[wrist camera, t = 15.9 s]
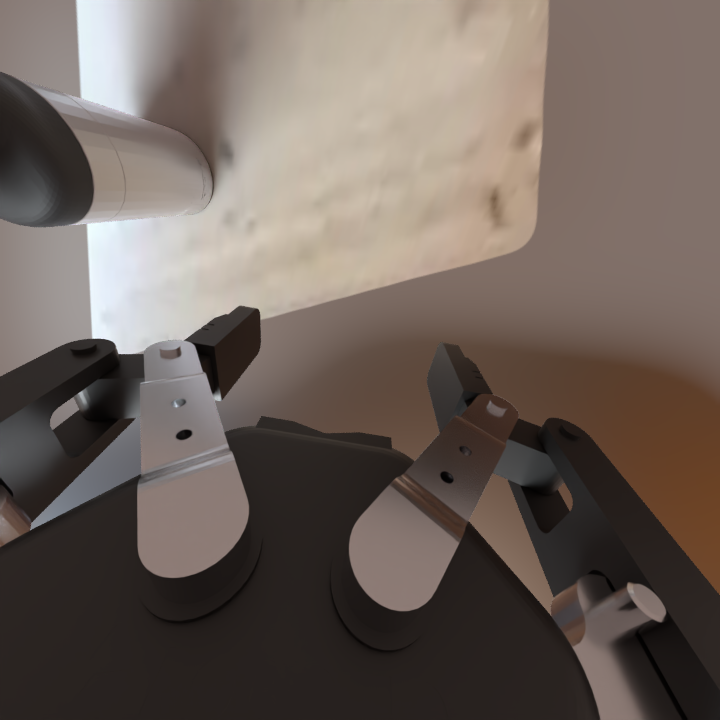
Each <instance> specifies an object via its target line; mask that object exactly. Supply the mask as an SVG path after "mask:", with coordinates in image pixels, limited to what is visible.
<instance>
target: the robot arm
mask: <svg viewBox="0 0 720 720" xmlns="http://www.w3.org/2000/svg"><path fill="white" fill-rule="evenodd" d="M212 190H213V181H212V176H211V171H210V168H209V165H208V163H207V161H206V159H205V157H204V155H203V153H202V152H201V151H200V149H199V148H198V147H197V145H196V144H195V143H194V142H193V141H192V140H191V139H190V138H188V137H187V136H185V135H184V134H183V133H181V132H179V131H176V130H174V129H171V128H168V127H165V126H162V125H159V124H156V123H153V122H151V121H148V120H145V119H142V118H139V117H136V116H133V115H129V114H126V113H123V112H120V111H117V110H114V109H111V108H108V107H105V106H102V105H99V104H96V103H93V102H90V101H87V100H84V99H81V98H78V97H74V96H71V95H69V94H66V93H63V92H59V91H56V90H53V89H50V88H47V87H44V86H41V85H37V84H34V83H31V82H28V81H25V80H22V79H19V78H16V77H13V76H10V75H8V74H5V73H2V72H0V218H1V219H3V220H6V221H9V222H11V223H15V224H18V225H24V226H30V227H54V226H65V225H77V224H89V223H99V222H109V221H121V220H133V219H144V218H156V217H167V216H180V215H191V214H195V213H199V212H200V211H202V210H203V209H204V208H205V207H206V206H207V205H208V203H209V201H210V199H211V195H212ZM260 345H261V330H260V312H259V310H258V309H256V308H251V307H245V306H238V307H237V308H236V309H235V310H233V311H232V312H231V313H229V314H228V315H227V314H225V315H222V316H219V317H216V318H214V319H213V320H211V321H210V322H209V323H207V325H204V326H203V327H202V328H201V329H199V330H198V331H196V332H195V333H194V334H192V335H191V336H189V337H188V338H187V339H185V340H184V341H182V340H168V341H162V342H158V343H155V344H153V345H151V346H149V347H148V348H147V349H146V350H145V351H144V354H118V352H117V349H116V346H115V344H114V343H113V342H112V341H109V340H105V339H84V340H78V341H74V342H70V343H67V344H65V345H62V346H60V347H58V348H56V349H54V350H52V351H50V352H48V353H46V354H44V355H42V356H40V357H38V358H36V359H34V360H32V361H30V362H28V363H26V364H25V365H22V366H20V367H18V368H16V369H14V370H12V371H10V372H8V373H6V374H5V375H3V376H1V377H0V720H720V595H719V594H718V593H717V591H716V590H715V589H714V588H713V587H712V585H711V584H710V583H709V581H708V580H707V579H706V578H705V577H704V576H703V574H702V573H701V572H700V571H699V569H698V568H697V567H696V566H695V565H694V563H693V562H692V561H691V560H690V558H689V557H688V556H687V555H686V553H685V552H684V551H683V550H682V548H681V547H680V546H679V545H678V544H677V542H676V541H675V540H674V539H673V537H672V536H671V535H670V534H669V533H668V531H667V530H666V529H665V528H664V526H662V524H661V523H660V522H659V520H658V519H657V518H656V517H655V515H654V514H653V513H652V512H651V511H650V509H649V508H648V507H647V506H646V505H645V503H644V502H643V501H642V500H641V498H640V497H639V496H638V495H637V493H636V492H635V491H634V490H633V488H632V487H631V486H630V485H629V484H628V482H627V481H626V480H625V479H624V478H623V476H622V475H621V474H620V473H619V472H618V470H617V469H616V468H615V466H614V465H613V464H612V463H611V462H610V460H609V459H608V458H607V457H606V456H605V454H604V453H603V452H602V451H601V449H600V448H599V447H598V446H597V445H596V443H595V442H594V441H593V439H592V438H591V437H590V436H589V435H588V434H587V433H586V432H585V431H583V430H582V429H581V428H579V427H577V426H576V425H574V424H572V423H570V422H568V421H565V420H563V419H559V418H549V419H547V420H546V421H545V423H544V424H543V425H542V427H540V426H537V425H535V424H532V423H529V422H526V421H524V420H521V419H519V413H518V411H517V409H516V408H515V407H514V406H513V405H512V404H511V403H509V402H508V401H506V400H505V399H503V398H501V397H498V396H496V395H493V393H492V392H491V390H490V388H489V386H488V385H487V383H486V381H485V380H484V379H483V376H482V374H481V373H480V371H479V369H478V367H477V366H476V364H474V363H473V362H472V361H471V360H470V359H469V358H466V357H464V355H463V353H462V351H461V349H460V347H459V346H458V345H454V344H448V343H443V342H441V343H440V344H439V345H438V347H437V350H436V353H435V356H434V359H433V362H432V364H431V367H430V370H429V372H428V377H427V385H428V389H429V392H430V397H431V400H432V404H433V408H434V412H435V416H436V420H437V424H438V428H439V432H440V433H439V435H438V436H437V437H436V438H435V439H434V440H433V441H432V443H431V444H430V445H429V446H428V447H427V448H426V449H425V450H424V451H423V453H422V454H421V455H420V456H419V457H418V458H417V459H416V460H415V461H414V460H412V459H411V458H410V457H408V456H407V455H405V454H403V453H401V452H400V451H397V450H395V449H393V448H392V445H391V438H389V437H384V436H378V435H372V434H365V433H330V434H329V433H322V432H320V431H317V430H314V429H312V428H309V427H307V426H304V425H301V424H299V423H296V422H293V421H288V420H282V419H276V418H269V417H264V416H261V418H260V420H259V422H258V424H257V425H256V426H248V427H241V428H237V429H233V430H229V431H226V432H224V430H223V427H222V424H221V420H220V417H219V414H218V411H217V408H216V405H215V401H214V400H218V401H222V400H223V398H224V397H225V396H226V395H227V393H228V392H229V391H230V389H231V388H232V387H233V385H234V384H235V383H236V381H237V380H238V379H239V378H240V376H241V375H242V374H243V373H244V371H245V370H246V369H247V367H248V366H249V365H250V363H251V362H252V361H253V359H254V358H255V357H256V356H257V354H258V352H259V349H260ZM72 397H74V399H75V401H76V403H77V405H78V407H79V411H77V412H76V413H74V414H73V415H72V416H70V417H69V418H68V419H67V420H65V421H64V422H63V423H61V424H60V425H59V426H57V427H56V428H55V429H54V430H52V429H51V427H50V418H51V416H52V414H53V412H54V411H55V410H56V409H57V408H58V407H60V406H61V405H62V404H64V403H65V402H67V401H68V400H70V399H71V398H72ZM138 417H140V419H141V474H140V475H138V476H136V477H134V478H132V479H130V480H128V481H126V482H124V483H122V484H120V485H119V486H116V487H114V488H113V489H111V490H109V491H107V492H105V493H103V494H101V495H99V496H97V497H95V498H93V499H91V500H89V501H87V502H85V503H83V504H81V505H79V506H77V507H75V508H73V509H71V510H69V511H67V512H66V513H64V514H62V515H60V516H58V517H56V518H54V519H52V520H50V521H48V522H46V523H44V524H42V525H40V526H38V527H36V528H34V529H32V530H30V528H31V523H32V522H33V521H34V520H35V519H36V518H37V517H38V516H39V515H40V514H41V513H42V512H43V511H44V510H45V509H46V508H47V507H48V506H49V505H50V504H51V503H52V502H53V501H54V500H55V499H56V498H57V497H58V496H59V495H60V494H61V493H62V492H63V491H64V490H65V489H66V488H67V487H68V486H69V485H70V484H71V483H72V482H73V481H74V480H75V478H77V477H78V476H79V474H81V473H82V472H83V471H84V470H85V469H86V468H87V467H88V466H89V465H90V464H91V463H92V462H93V461H94V460H95V459H96V457H98V456H99V455H100V454H101V453H102V452H103V451H104V450H105V449H106V448H107V447H108V446H109V445H110V444H111V443H112V442H113V440H115V439H116V438H117V437H118V435H120V434H121V432H123V431H124V430H125V429H126V428H127V427H128V426H129V425H130V424H131V423H132V421H134V419H135V418H138ZM493 473H494V474H496V475H499V476H501V477H504V478H506V479H508V482H509V485H510V487H511V490H512V492H513V495H514V497H515V500H516V502H517V505H518V508H519V510H520V513H521V515H522V518H523V520H524V523H525V525H526V528H527V530H528V533H529V535H530V538H531V541H532V543H533V546H534V548H535V551H536V553H537V556H538V558H539V561H540V564H541V566H542V568H543V571H544V574H545V576H546V579H547V581H548V584H549V586H550V589H551V591H552V594H553V597H554V598H553V600H552V604H551V615H550V614H549V613H548V612H547V610H546V609H545V608H544V607H543V606H542V605H541V603H540V602H539V601H538V600H537V599H536V598H535V597H534V595H533V594H532V593H531V592H530V591H529V590H528V589H527V588H526V586H525V585H524V584H523V583H522V582H521V581H520V579H519V578H518V577H517V576H516V575H515V574H514V573H513V571H512V570H511V569H510V568H509V567H508V566H507V565H506V563H505V562H504V561H503V560H502V559H501V558H500V557H499V555H498V554H497V553H496V552H495V551H494V550H493V549H492V547H491V546H490V545H489V544H488V543H487V542H486V540H485V539H484V538H483V537H482V536H481V535H480V534H479V532H478V531H477V530H476V529H475V528H474V527H473V526H472V524H471V523H470V522H469V519H470V517H471V515H472V513H473V511H474V509H475V507H476V505H477V503H478V501H479V499H480V497H481V495H482V493H483V491H484V489H485V487H486V485H487V483H488V481H489V479H490V478H491V476H492V474H493ZM563 483H565V484H566V486H567V488H568V489H569V491H570V493H571V495H572V498H573V506H572V510H571V511H569V509H568V507H567V506H566V504H565V502H564V500H563V498H562V496H561V495H560V493H559V491H558V488H559V487H560V486H561V485H562V484H563Z"/></svg>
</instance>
